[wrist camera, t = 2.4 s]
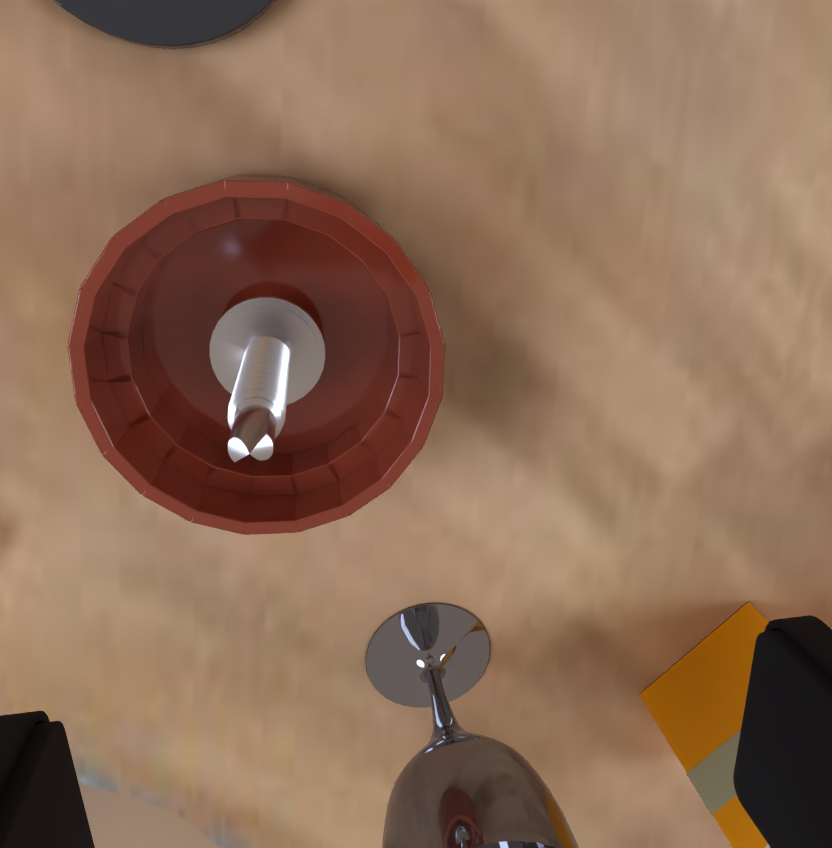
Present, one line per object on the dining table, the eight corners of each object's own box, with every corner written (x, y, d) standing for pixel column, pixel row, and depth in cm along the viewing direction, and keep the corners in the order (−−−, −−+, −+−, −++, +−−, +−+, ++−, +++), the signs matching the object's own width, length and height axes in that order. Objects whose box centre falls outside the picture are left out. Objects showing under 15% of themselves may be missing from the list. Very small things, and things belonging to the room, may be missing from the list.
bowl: (49, 233, 30) (-3, 249, 25) (372, 133, 30) (385, 129, 25) (183, 516, 35) (163, 577, 30) (456, 427, 36) (481, 473, 31)
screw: (346, 344, 33) (270, 412, 34) (270, 265, 31) (192, 339, 32) (368, 454, 21) (250, 558, 22) (247, 336, 19) (123, 452, 20)
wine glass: (399, 733, 42) (446, 1018, 28) (332, 640, 39) (346, 908, 25) (519, 671, 42) (625, 929, 28) (459, 572, 39) (545, 806, 25)
